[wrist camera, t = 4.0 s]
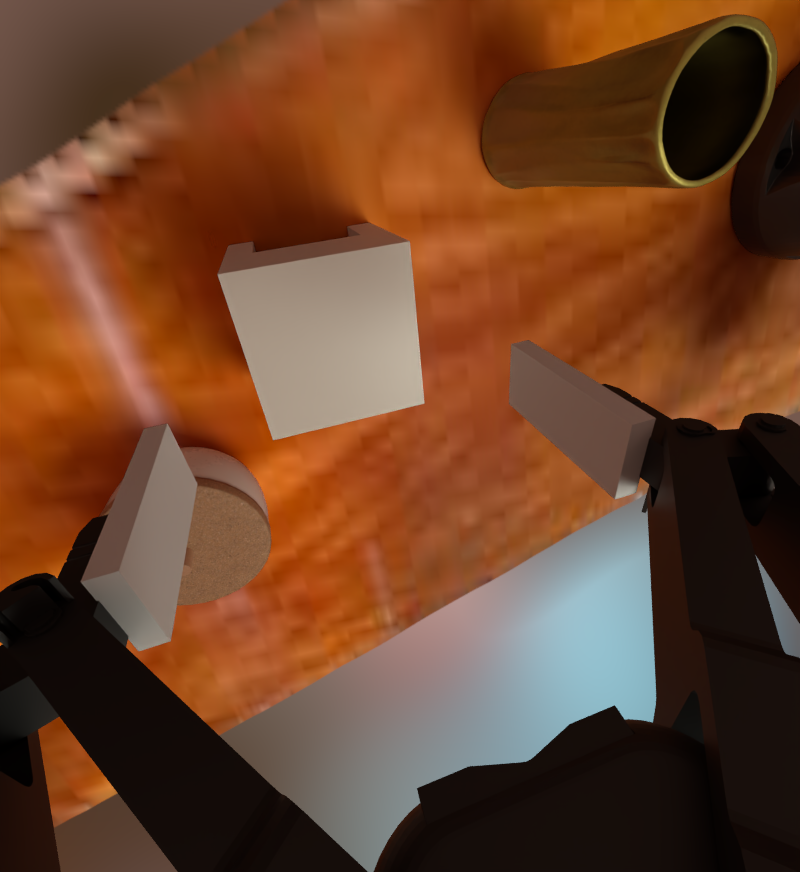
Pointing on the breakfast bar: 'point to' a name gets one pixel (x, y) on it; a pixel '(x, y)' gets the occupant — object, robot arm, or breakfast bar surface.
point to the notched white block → (327, 327)
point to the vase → (637, 112)
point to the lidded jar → (221, 527)
